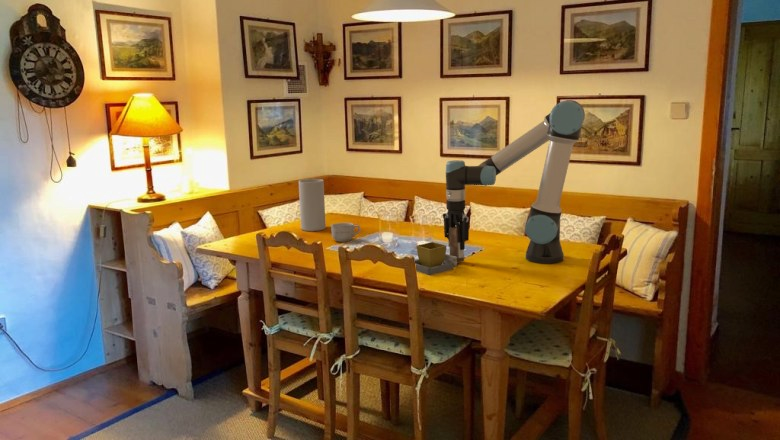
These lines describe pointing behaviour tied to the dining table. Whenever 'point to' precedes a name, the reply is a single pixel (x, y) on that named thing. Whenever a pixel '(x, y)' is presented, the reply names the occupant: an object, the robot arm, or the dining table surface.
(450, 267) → the tray
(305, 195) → the cylinder vase
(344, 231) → the teacup
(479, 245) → the dining table surface
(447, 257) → the upright post on base
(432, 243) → the flower pot
